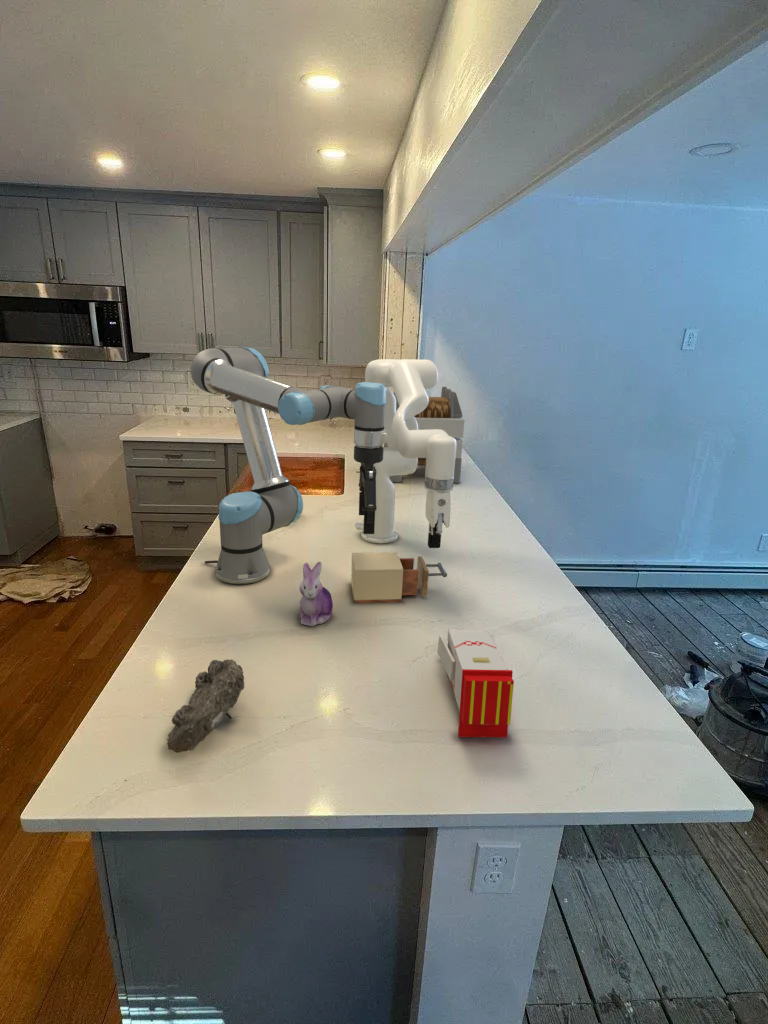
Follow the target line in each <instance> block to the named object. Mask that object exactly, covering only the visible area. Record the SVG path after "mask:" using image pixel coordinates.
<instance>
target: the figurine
mask: <svg viewBox="0 0 768 1024" xmlns="http://www.w3.org/2000/svg"><path fill="white" fill-rule="evenodd" d="M322 564H323V563H322V561H318V562H317V563H316V564H315V565H314V566H313V568H312V569H311V566H310V565H309V563H307V562H305V563H303V566H302V572H303V577H302V580H301V582H300V585H299V592H300V594H301V598H300V600H299V609H300V613H299V614H300V615H299V618H300V624H302V625H304V626H309V627H314V626H317V625H322V624H324V623H326V622H328V621H329V620H330V619H331V617H332V615H333V609H334V608H333V607H334V603H333V597H332V594H331V592H330V591H329V590H328V589H327V588H326V587H325V586H323V584H322V581H321V579H320V574H321V571H322V566H323V565H322Z"/></svg>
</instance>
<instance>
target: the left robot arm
mask: <svg viewBox="0 0 768 1024" xmlns="http://www.w3.org/2000/svg"><path fill="white" fill-rule="evenodd" d="M190 375H191V378H192V381H193V383H194V384H195V385H196V386H197V387H198V388H199V389H200V390H202V391H204V392H206V393H209V394H211V395H215V396H222V395H224V396H225V399H226V400H227V401H229V402H230V403H232V405H233V409H234V413H235V417H236V420H237V424H238V427H239V431H240V435H241V438H242V442H243V446H244V449H245V453H246V457H247V460H248V464H249V468H250V471H251V476H252V478H253V485H252V486H251V488H250V491H248V490H247V491H246V490H245V491H242V492H240V491H237V492H234V493H231V494H230V493H229V494H228V495H226V496H225V497H224V498H222V499H221V500H220V502H219V504H218V517H217V518H218V520H219V536H220V537H219V540H220V552H219V554H218V555H219V556H218V559H217V560H205V561H204V564H216V566H215V576H216V579H218V581H221V582H223V583H225V584H231V585H250V584H254V583H257V582H260V581H262V580H264V579H266V578H267V577H268V576H269V575H270V572H271V569H270V567H271V566H270V563H269V560H268V558H267V555H266V553H265V550H264V546H263V535H265V534H268V533H271V532H274V531H276V530H279V529H281V528H285V527H289V526H290V525H292V524H294V523H296V522H297V521H298V520H300V518H301V516H302V514H303V511H304V499H303V496H302V494H301V492H300V491H299V490H298V488H297V487H295V486H294V485H291V483H290V479H289V478H288V477H285V475H283V472H282V468H281V464H280V460H279V457H278V454H277V453H278V452H277V450H276V445H275V442H274V438H273V434H272V430H271V427H270V426H271V425H270V422H269V419H268V416H267V412H266V411H269V412H272V413H275V414H277V415H279V417H280V418H281V420H283V422H284V423H285V424H287V425H290V426H296V425H298V426H301V425H306V424H310V423H315V422H319V421H325V420H331V419H336V418H343V419H348V420H352V421H354V428H353V444H354V446H353V460H354V461H355V462H356V463H358V464H359V463H360V466H359V479H358V490H359V493H358V495H359V496H358V516H363V523H364V529H363V530H362V531H363V534H374V527H375V511H376V509H377V507H376V473H377V472H376V469H375V466H374V464H375V463H380V462H382V461H383V451H384V448H383V447H384V438H383V436H386V433H384V420H385V407H386V389H385V386H384V385H383V384H380V383H371V382H365V381H361V382H357V383H356V384H355V388H348V387H342V386H337V385H322V386H320V388H318V389H311V390H306V389H303V388H299V387H296V386H295V387H294V386H293V385H290V384H287V383H284V382H281V381H277V380H275V379H271V378H269V367H268V363H267V361H266V359H265V357H264V356H263V354H262V353H260V352H259V351H258V350H257V349H255V348H253V347H244V346H238V347H221V348H220V347H219V348H218V347H217V348H215V347H213V348H211V347H210V348H207V349H204V350H202V351H200V352H198V353H197V354H196V355H195V356H194V358H193V359H192V361H191V363H190ZM369 505H373V506H369Z"/></svg>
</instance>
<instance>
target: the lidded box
mask: <svg viewBox="0 0 768 1024" xmlns="http://www.w3.org/2000/svg"><path fill="white" fill-rule="evenodd" d="M399 558H400V556H399V554H398V552H351V568H350V569H351V574H350V586H351V593H352V599H353V604H373V603H375V604H377V603H402V601H403V600H402V599H403V598H402V597H403V595H402V582H403V567H402V564H401V562H400V559H399Z"/></svg>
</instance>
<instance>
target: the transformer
mask: <svg viewBox="0 0 768 1024" xmlns="http://www.w3.org/2000/svg"><path fill="white" fill-rule="evenodd" d="M440 393H441V394H440V396H428V398H429V403H428V405H427V407H426V408H425V409H424V410H423V411H422V412H421V413H419V414H417V415H415V416H414V417H415V418H416V420H417V423H418V430H426V429H428V430H430V429H440V430H443V431H445V432H446V433H447V434H448V436H450V437H453V438H454V439H455V440H456V443H457V445H456V457H455V469H454V480H453V484H455V483H456V484H459V483H461V472H462V461H463V460H462V453H463V442H464V441H463V440H462V439H463V438H464V431H465V430H464V429H465V419H464V418H463V411H462V408H461V405H460V402H459V398H458V395H457V392H455V391H453V390H452V389H451V388H447V386H442V387H441V392H440ZM393 394H394V396H395V398H396V395H395V392H394V391H393ZM399 407H400V406H399V404H398V401H397V398H396V411H397V409H398V408H399ZM383 447H397V446H396V443H384V444H383ZM417 467H426V457H425V458H418V464H417ZM389 479H390V480H391V482H392V483H402V482H403V475H394V476H389Z"/></svg>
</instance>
